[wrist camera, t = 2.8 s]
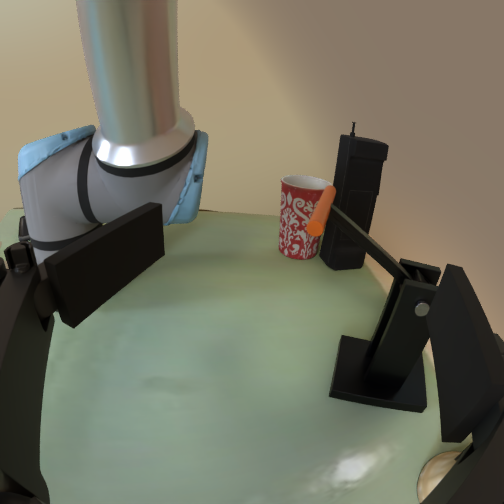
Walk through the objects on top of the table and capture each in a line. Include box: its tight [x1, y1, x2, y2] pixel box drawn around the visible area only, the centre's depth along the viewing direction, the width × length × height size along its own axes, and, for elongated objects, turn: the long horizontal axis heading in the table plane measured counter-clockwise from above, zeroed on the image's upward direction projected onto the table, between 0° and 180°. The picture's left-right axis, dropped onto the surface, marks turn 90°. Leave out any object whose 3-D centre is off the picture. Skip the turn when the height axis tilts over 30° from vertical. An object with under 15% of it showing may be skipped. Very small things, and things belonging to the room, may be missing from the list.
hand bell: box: [417, 451, 461, 503], centre depth 13 cm, size 8×8×16 cm
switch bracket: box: [329, 258, 441, 413], centre depth 28 cm, size 11×9×14 cm
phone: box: [18, 216, 30, 242], centre depth 59 cm, size 8×1×15 cm
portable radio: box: [319, 122, 389, 270], centre depth 49 cm, size 8×6×25 cm
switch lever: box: [306, 185, 432, 290], centre depth 25 cm, size 14×11×2 cm
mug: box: [279, 175, 333, 260], centre depth 56 cm, size 13×9×14 cm
